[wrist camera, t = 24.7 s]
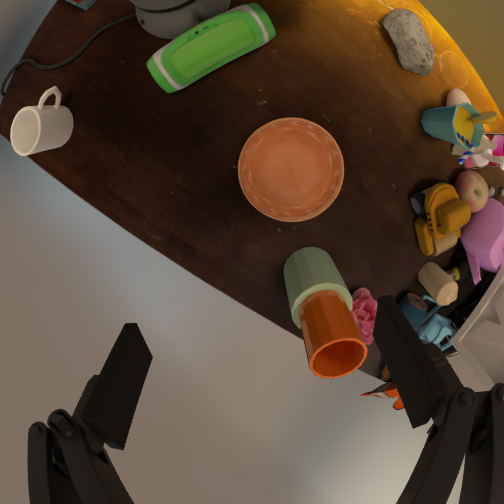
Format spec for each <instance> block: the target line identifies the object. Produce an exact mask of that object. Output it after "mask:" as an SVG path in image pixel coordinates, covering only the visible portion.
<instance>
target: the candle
mask: <svg viewBox="0 0 504 504" xmlns="http://www.w3.org/2000/svg"><path fill="white" fill-rule="evenodd" d="M418 279H419V282H420V283H421V284H422V285H423V286H424V288H425V289H426V290H427V291H428V292H429V293H430V295H431V296H432V297H433V298H434V299H435V301H436V302H437V303H438V304H439V305H440V306H445V305H449V304H450V303H451V302H453V301H455V300H456V299H457V293H458V285H457V283H456V282H455V281H454V280H453V279H452V278H451V277H450V276H449V275H448V274H447V273H446V272H445V271H444V270H443V269H441V268H440V267H439V266H438V265H437V264H436V263H435V262H428V263H426V264H424V265H423V266H422V268H421V269H420V271H419V274H418Z"/></svg>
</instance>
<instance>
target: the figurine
mask: <svg viewBox="0 0 504 504" xmlns="http://www.w3.org/2000/svg"><path fill="white" fill-rule="evenodd" d="M483 135H484V134H483ZM484 137H485V138H486V139H488V137H487V136H486V135H484ZM488 140H489V139H488ZM470 158H471V161H472V162H473V164H474V165H475V166H477V167H483V166H485V165H487V164H488V163H489V161H491V162H496V163H498V164H500V166H501V169H502V170H504V157H503V156H493V155H492V149H486V150H485V153H483V154H478V155H470Z"/></svg>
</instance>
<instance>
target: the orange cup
mask: <svg viewBox="0 0 504 504" xmlns="http://www.w3.org/2000/svg"><path fill="white" fill-rule="evenodd" d="M299 320H300V325H301V330H302V334H303V339H304V344H305V348H306V353H307V358H308V362H309V368H310V370H311V371H312V372H313V374H314V375H316V376H319V377H321V378H337V377H341V376H345V375H347V374H349V373H351V372H353V371H354V370H356V369H357V368H358V367H359V366H361V365H362V363H363V362H364V360H365V359H366V357H367V350H368V349H367V347H366V344H365V342H364V340H363V338H362V335H361V333H360V331H359V329H358V326H357V324H356V322H355V320H354V318H353V315H352V313H351V311H350V309H349V307H348V305H347V303H346V301H345V299H344V297H343V296H342V295H341V294H340V293H338V292H336V291H333V290H321V291H317V292H315V293H313V294H311V295H309V296H308V297H307V298H306V299H305V300H304V301H303V302H302V304H301V305H300V308H299Z"/></svg>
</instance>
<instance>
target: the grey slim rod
mask: <svg viewBox="0 0 504 504" xmlns="http://www.w3.org/2000/svg"><path fill="white" fill-rule="evenodd" d="M490 187H491V186H490ZM488 189H489V196H490V197H491V196H493V195H494V192H495V189H494V188H493V187H491V188H488ZM500 190H501V188H500ZM499 192H501V195H504V188H503V190H502V191H499Z"/></svg>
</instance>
